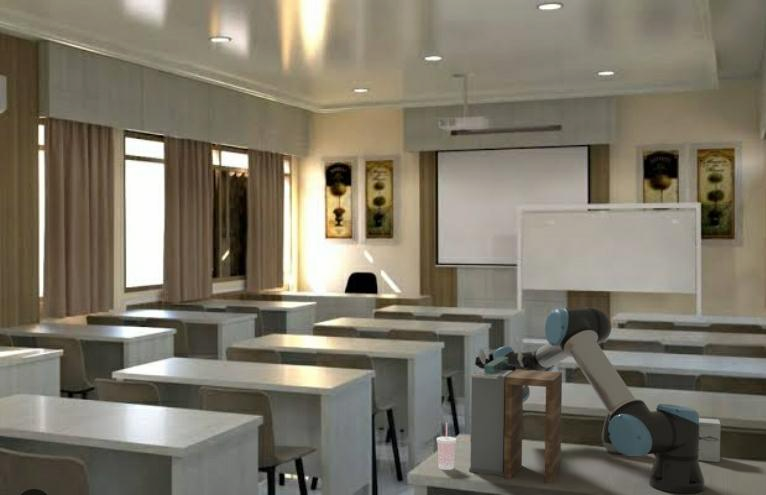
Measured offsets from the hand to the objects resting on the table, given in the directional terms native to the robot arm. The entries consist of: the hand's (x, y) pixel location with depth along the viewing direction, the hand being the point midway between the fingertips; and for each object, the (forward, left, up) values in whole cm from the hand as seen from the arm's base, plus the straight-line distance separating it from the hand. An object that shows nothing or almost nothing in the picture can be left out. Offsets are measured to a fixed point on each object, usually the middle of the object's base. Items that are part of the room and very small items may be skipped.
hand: (499, 353), depth 275 cm
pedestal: (0, +9, -34) cm, 35 cm away
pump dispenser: (-34, -28, -34) cm, 56 cm away
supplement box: (-62, -30, -35) cm, 77 cm away
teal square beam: (0, +7, -5) cm, 8 cm away
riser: (-13, +10, -34) cm, 38 cm away
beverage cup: (+13, +14, -34) cm, 39 cm away
